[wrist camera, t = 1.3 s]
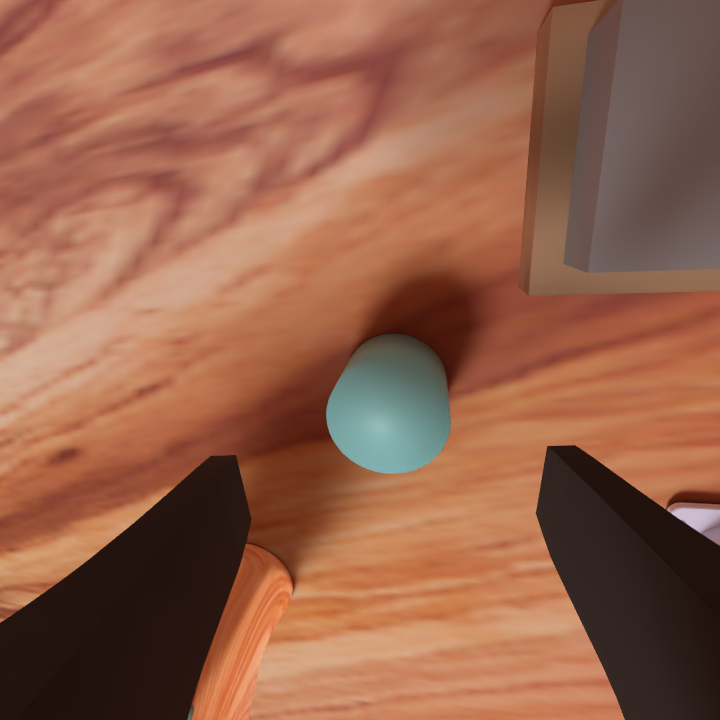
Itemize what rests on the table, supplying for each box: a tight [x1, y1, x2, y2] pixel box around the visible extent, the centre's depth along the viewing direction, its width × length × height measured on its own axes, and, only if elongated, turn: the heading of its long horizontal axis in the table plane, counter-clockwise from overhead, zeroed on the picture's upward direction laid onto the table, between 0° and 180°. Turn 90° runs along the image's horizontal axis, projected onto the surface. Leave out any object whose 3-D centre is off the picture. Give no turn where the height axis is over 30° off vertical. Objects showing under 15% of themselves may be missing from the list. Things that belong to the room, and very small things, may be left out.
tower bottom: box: [519, 0, 720, 296], centre depth 14 cm, size 9×9×2 cm
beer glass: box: [187, 543, 293, 720], centre depth 19 cm, size 7×7×15 cm
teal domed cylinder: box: [326, 333, 451, 474], centre depth 18 cm, size 5×5×4 cm
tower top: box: [563, 0, 720, 273], centre depth 12 cm, size 7×7×2 cm
